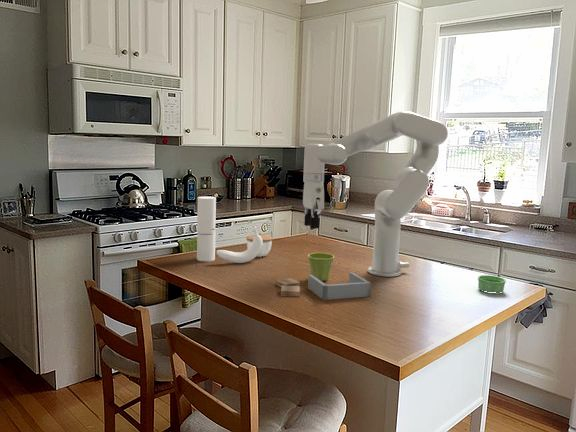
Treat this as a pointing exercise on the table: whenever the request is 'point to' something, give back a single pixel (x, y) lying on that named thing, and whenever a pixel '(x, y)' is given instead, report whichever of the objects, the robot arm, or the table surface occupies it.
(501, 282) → the ramekin
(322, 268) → the plant pot
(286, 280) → the tile
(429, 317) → the table surface
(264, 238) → the lidded jar
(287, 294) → the tile
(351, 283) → the u-shaped fence
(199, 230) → the cylindrical container
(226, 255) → the white curved piece
